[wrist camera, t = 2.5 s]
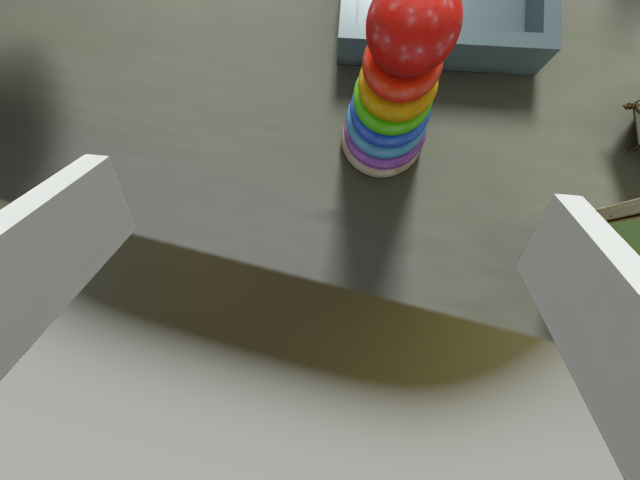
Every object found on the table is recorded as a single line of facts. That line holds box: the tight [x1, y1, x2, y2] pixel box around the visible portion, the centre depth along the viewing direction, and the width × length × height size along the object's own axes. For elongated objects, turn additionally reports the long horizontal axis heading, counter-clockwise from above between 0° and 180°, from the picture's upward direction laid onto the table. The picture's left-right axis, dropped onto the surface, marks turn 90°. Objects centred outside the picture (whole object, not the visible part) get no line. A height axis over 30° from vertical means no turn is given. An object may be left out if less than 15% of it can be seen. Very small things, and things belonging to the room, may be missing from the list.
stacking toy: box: [341, 0, 463, 178], centre depth 25 cm, size 8×8×19 cm
